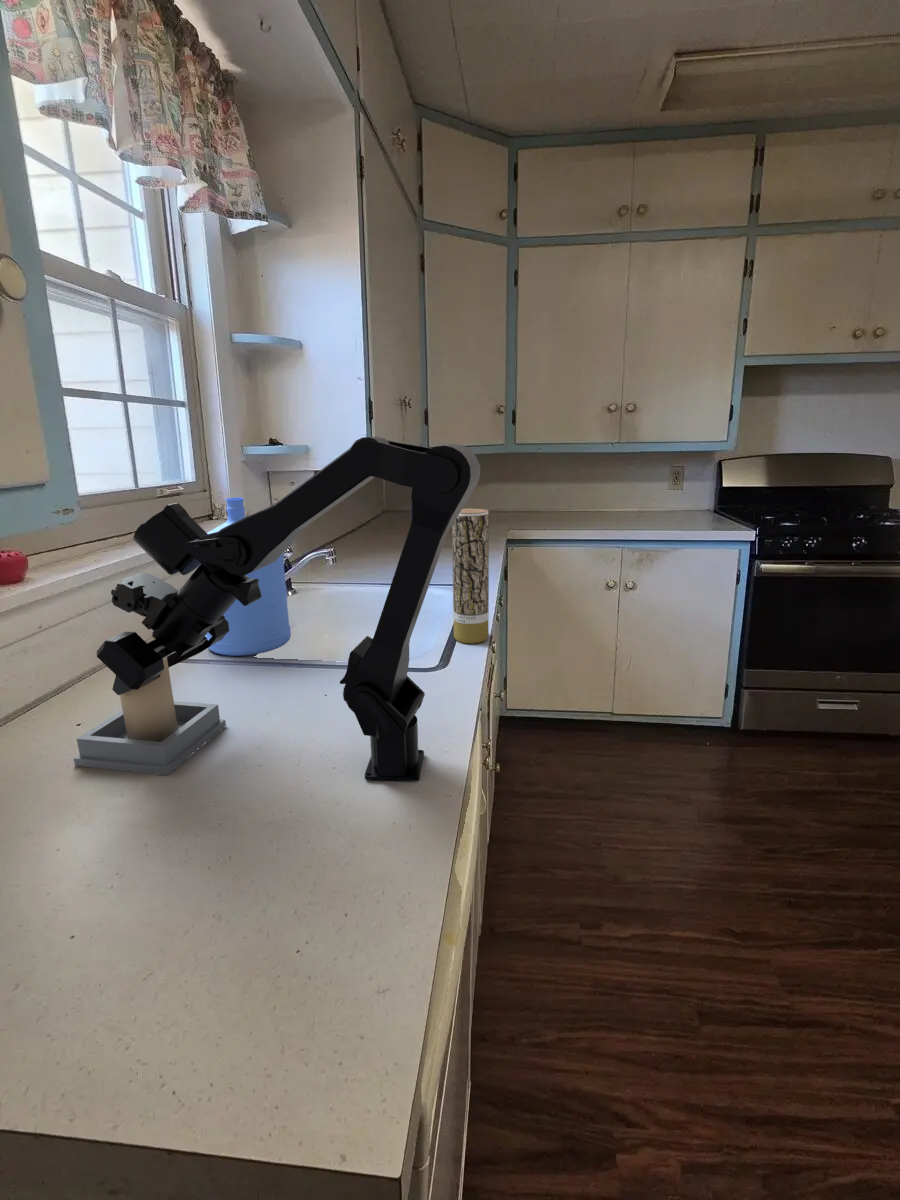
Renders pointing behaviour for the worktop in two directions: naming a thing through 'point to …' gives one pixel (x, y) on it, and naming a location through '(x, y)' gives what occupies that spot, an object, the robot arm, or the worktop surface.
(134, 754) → the grey rimmed tray
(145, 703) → the beige knobbed cylinder
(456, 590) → the paper tube
